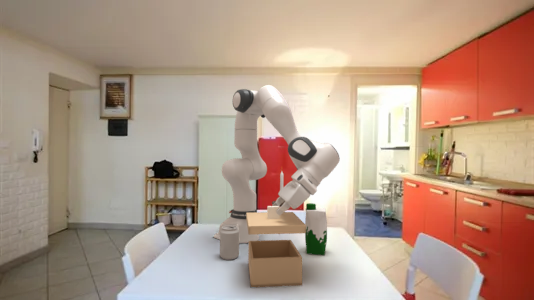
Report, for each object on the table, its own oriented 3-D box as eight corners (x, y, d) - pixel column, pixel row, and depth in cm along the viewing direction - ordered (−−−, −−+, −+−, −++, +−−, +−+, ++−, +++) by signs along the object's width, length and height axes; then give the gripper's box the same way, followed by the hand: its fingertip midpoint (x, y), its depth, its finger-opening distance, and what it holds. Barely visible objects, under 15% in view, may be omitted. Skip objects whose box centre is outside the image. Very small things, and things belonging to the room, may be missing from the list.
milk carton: (305, 247, 119) (306, 202, 119) (326, 249, 117) (326, 203, 117) (304, 254, 110) (304, 205, 111) (327, 256, 108) (327, 206, 109)
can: (241, 255, 109) (242, 225, 109) (233, 261, 102) (234, 229, 102) (225, 252, 112) (225, 223, 112) (216, 259, 104) (216, 228, 105)
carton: (250, 287, 82) (251, 259, 82) (248, 264, 100) (248, 240, 100) (302, 285, 84) (302, 257, 84) (290, 262, 102) (290, 239, 102)
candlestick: (285, 231, 144) (286, 166, 144) (268, 228, 149) (268, 165, 150) (294, 227, 153) (294, 165, 154) (277, 224, 159) (278, 165, 159)
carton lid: (248, 234, 81) (248, 212, 82) (246, 219, 101) (246, 201, 101) (306, 233, 83) (306, 212, 84) (292, 218, 103) (292, 201, 103)
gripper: (291, 173, 104) (265, 199, 102) (304, 178, 83) (272, 210, 82) (302, 185, 104) (277, 211, 103) (318, 192, 84) (287, 224, 83)
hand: (275, 210), depth 92 cm, fingers open, 8 cm apart
